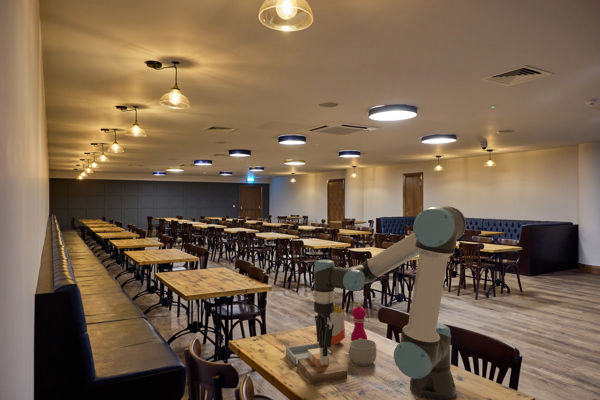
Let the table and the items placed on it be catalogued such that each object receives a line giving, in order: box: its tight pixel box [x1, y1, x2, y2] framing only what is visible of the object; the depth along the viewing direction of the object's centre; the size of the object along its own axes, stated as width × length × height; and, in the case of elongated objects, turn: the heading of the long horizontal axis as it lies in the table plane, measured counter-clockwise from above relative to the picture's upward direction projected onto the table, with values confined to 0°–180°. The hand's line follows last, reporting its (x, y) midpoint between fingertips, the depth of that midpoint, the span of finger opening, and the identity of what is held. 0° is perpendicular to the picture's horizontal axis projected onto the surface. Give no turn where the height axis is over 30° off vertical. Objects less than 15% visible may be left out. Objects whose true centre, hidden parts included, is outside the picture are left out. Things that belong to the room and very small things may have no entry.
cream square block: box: [308, 348, 320, 361], centre depth 160 cm, size 5×5×3 cm
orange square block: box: [312, 353, 329, 367], centre depth 155 cm, size 5×5×3 cm
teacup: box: [348, 338, 377, 367], centre depth 164 cm, size 14×11×8 cm
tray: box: [285, 342, 333, 367], centre depth 168 cm, size 12×16×4 cm
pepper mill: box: [350, 303, 368, 342], centre depth 178 cm, size 7×7×20 cm
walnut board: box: [297, 355, 348, 385], centre depth 154 cm, size 16×14×3 cm
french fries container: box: [330, 304, 346, 346], centre depth 186 cm, size 5×11×18 cm, turn 58°
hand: (323, 363), depth 152 cm, fingers closed
